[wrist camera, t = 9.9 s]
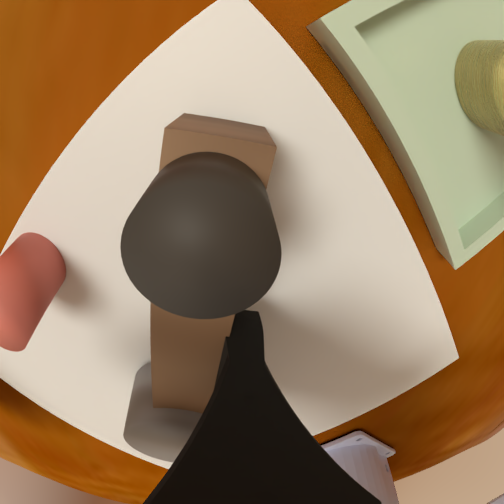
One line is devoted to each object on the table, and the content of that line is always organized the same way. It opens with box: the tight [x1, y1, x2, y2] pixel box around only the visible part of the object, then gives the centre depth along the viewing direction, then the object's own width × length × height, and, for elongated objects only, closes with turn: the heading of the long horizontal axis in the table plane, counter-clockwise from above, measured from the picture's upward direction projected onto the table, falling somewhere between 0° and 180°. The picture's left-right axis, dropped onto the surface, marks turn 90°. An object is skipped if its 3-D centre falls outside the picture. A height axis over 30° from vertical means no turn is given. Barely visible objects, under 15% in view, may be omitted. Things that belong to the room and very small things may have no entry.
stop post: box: [0, 232, 66, 352], centre depth 8 cm, size 2×2×3 cm
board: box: [0, 0, 459, 469], centre depth 13 cm, size 19×22×1 cm
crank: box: [120, 113, 282, 462], centre depth 9 cm, size 13×4×4 cm, turn 168°
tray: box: [306, 0, 504, 270], centre depth 7 cm, size 9×9×2 cm
